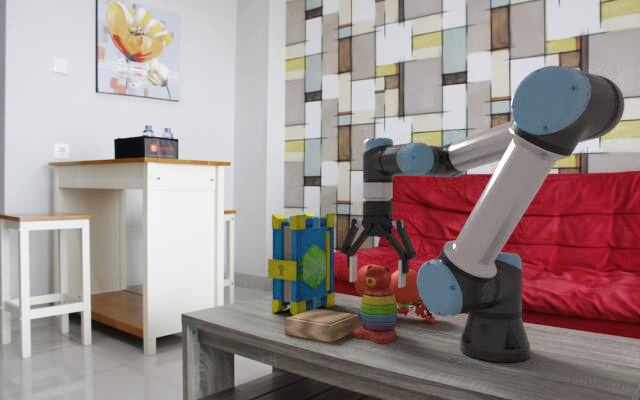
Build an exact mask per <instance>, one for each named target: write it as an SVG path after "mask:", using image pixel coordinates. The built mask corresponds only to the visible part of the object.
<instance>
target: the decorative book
mask: <svg viewBox="0 0 640 400" xmlns="http://www.w3.org/2000/svg"><path fill="white" fill-rule="evenodd" d="M335 217H336V214H335V213H334V212H333V213H332V212H331V213H326V214H325V215H323V216H321V217H320V216H319V215H315V214H314V213H312V212H303V214H296V215H290V216H289V217H288V218H287V217H286V216H285V215H283V214H281V213H277V214H276V213H274V214H271V229H272V258H271V259H269V258H268V259H267V278H270V279H272V299H271V313H272V314H275V313H279V312H282V311H284V310H286V309H288V306H289V312H290V314H292V316H294V315H297V314H300V313H303V312H306V311H309V310H312V309H319V308H320V307H321V306H324V307H326V308H328V307H332V306H335V303H336V301H335V300H336V297H335V296H336V295H335V294H336V293H335V227H336V225H335V223H336V221H335V220H336V219H335Z"/></svg>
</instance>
